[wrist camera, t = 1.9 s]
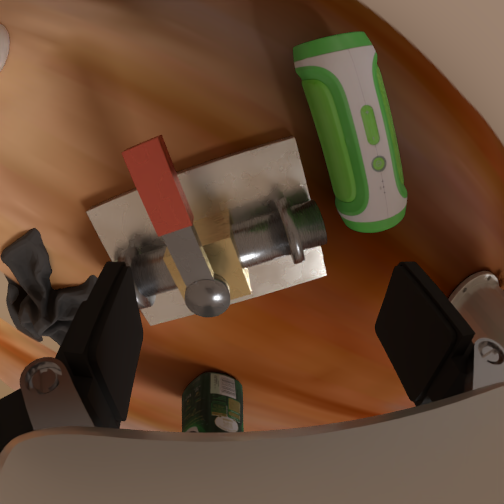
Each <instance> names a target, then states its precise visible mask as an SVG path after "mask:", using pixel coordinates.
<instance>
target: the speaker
mask: <svg viewBox="0 0 504 504" xmlns="http://www.w3.org/2000/svg"><path fill="white" fill-rule="evenodd" d="M293 58H294V65H295V71H296V73H297V74H298V75H299V77H300V78H301V79H302V87H303V90H304V93H305V96H306V99H307V102H308V105H309V108H310V111H311V114H312V117H313V120H314V124H315V127H316V130H317V133H318V137H319V140H320V143H321V147H322V150H323V154H324V158H325V161H326V165H327V169H328V172H329V176H330V180H331V184H332V188H333V192H334V194H335V196H336V197H335V205H336V208H337V210H338V212H339V214H340V216H341V218H342V220H343V221H344V223H345V225H346V226H347V227H349V228H350V229H352V230H355V231H358V232H364V233H373V232H380V231H384V230H387V229H390V228H392V227H394V226H395V225H397V224H398V223H399V222H400V221H401V220H402V219H403V217H404V215H405V211H406V204H407V190H406V188H405V186H404V184H403V183H404V178H403V172H402V165H401V160H400V154H399V148H398V143H397V138H396V133H395V129H394V124H393V120H392V115H391V111H390V107H389V103H388V99H387V95H386V91H385V87H384V83H383V80H382V76H381V72H380V69H379V67H378V66H377V53H376V51H375V49H374V47H373V45H372V44H371V42H370V40H369V39H368V37H367V36H366V34H365V33H364V32H349V33H343V34H337V35H332V36H328V37H323V38H319V39H316V40H312V41H309V42H305V43H302V44H300V45H297V46H295V47H294V48H293Z"/></svg>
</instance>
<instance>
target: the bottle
mask: <svg viewBox="0 0 504 504" xmlns="http://www.w3.org/2000/svg"><path fill="white" fill-rule="evenodd" d="M9 45H10V40H9V33H8V31H7V29H6V28H5V26H4V25H2V24H0V71H1V70H2V68H3V67H4V65H5V62H6V59H7V56H8V53H9Z"/></svg>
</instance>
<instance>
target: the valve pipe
mask: <svg viewBox="0 0 504 504" xmlns="http://www.w3.org/2000/svg"><path fill="white" fill-rule="evenodd" d="M177 176H178V178H179V181H180V183H181V186H182V188H183V191H184V193H185V196H186V198H187V201H188V203H189V206H190V208H191V211H192V213H193V216H194V220H193V225H194V227H195V229H196V232H197V234H198V237H199V239H200V241H201V244H202V246H203V248H204V251H205V253H206V255H207V258H208V260H209V262H210V265H211V267H212V269H213V271H214V272H215V273H216V274H218V275H220V276H222V277H223V278H224V279H225V280H226V281H227V282H228V284H229V287H230V304H233V303H236V302H240V301H243V300H247V299H250V298H254V297H257V296H261V295H264V294H267V293H271V292H274V291H278V290H281V289H284V288H288V287H291V286H294V285H297V284H301V283H304V282H307V281H310V280H314V279H317V278H320V277H323V276H326V275H327V274H326V269H325V264H324V259H323V254H322V249H321V245H324V244H327V234H326V229H325V225H324V222H323V219H322V216H321V213H320V210H319V208H318V206H317V204H316V202H315V201H314V200H310V196H309V192H308V187H307V183H306V179H305V175H304V171H303V167H302V163H301V159H300V155H299V152H298V148H297V144H296V140H295V137H293V136H290V137H286V138H282V139H279V140H275V141H272V142H268V143H265V144H261V145H258V146H255V147H251V148H248V149H245V150H242V151H238V152H235V153H232V154H229V155H226V156H223V157H220V158H217V159H214V160H211V161H208V162H205V163H202V164H199V165H196V166H193V167H190V168H188V169H185V170H182V171H179V172H177ZM86 212H87V214H88V216H89V218H90V220H91V222H92V224H93V226H94V228H95V230H96V232H97V234H98V236H99V238H100V240H101V242H102V244H103V246H104V247H105V249H106V251H107V253H108V255H109V257H110V258H111V260H112V262H125V264H126V266H130V267H131V269H132V275H133V281H134V287H135V292H136V298H137V303H138V308H139V309H140V310H141V311H142V313H143V315H144V316H145V318H146V319H147V321H148V322H149V324H150V326H151V325H155V324H159V323H163V322H167V321H170V320H174V319H178V318H182V317H186V316H189V315H193V314H194V313H193V312H191V311H190V310H189V309H188V307H187V306H186V304H185V290H186V285H185V283H184V281H183V279H182V277H181V275H180V273H179V271H178V269H177V267H176V265H175V262H174V260H173V258H172V256H171V254H170V252H169V250H168V248H167V246H166V244H165V241H164V239H163V237H162V236H159V237H158V235H157V233H156V231H155V229H154V227H153V224H152V222H151V220H150V218H149V216H148V213H147V211H146V209H145V207H144V205H143V202H142V200H141V198H140V195H139V193H138V191H137V189H136V188H135V189H132V190H130V191H128V192H125V193H123V194H120V195H118V196H116V197H113V198H111V199H108V200H106V201H104V202H102V203H99V204H97V205H95V206H92V207H90V208H89V209H88V210H87V211H86Z"/></svg>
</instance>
